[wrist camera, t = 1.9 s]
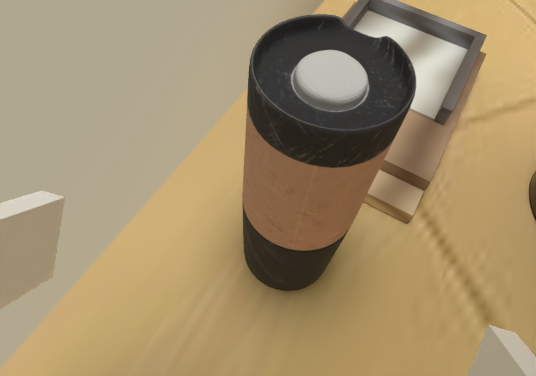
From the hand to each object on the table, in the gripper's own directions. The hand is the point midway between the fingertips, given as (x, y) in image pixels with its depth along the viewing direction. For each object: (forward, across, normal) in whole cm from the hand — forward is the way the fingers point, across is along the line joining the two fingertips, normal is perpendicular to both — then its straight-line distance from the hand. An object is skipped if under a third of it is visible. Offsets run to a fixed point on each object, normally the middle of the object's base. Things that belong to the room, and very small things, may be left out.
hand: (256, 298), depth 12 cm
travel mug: (+22, 0, -6) cm, 23 cm away
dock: (+36, +5, +8) cm, 37 cm away
